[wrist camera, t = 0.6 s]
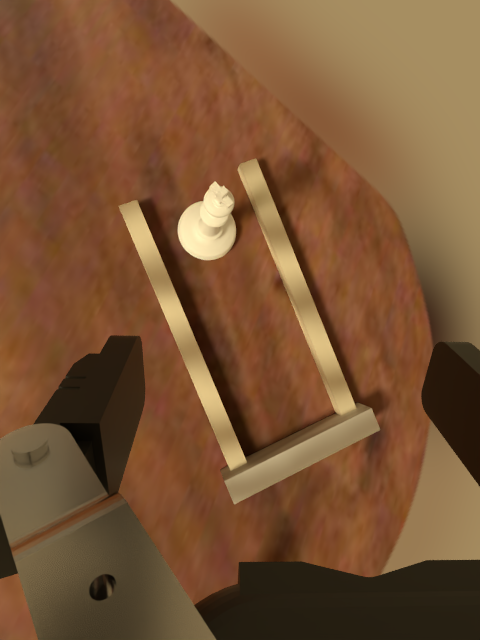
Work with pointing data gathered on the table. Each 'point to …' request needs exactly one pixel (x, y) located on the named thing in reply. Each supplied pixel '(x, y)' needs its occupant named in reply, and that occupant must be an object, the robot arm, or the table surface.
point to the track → (350, 417)
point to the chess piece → (209, 225)
